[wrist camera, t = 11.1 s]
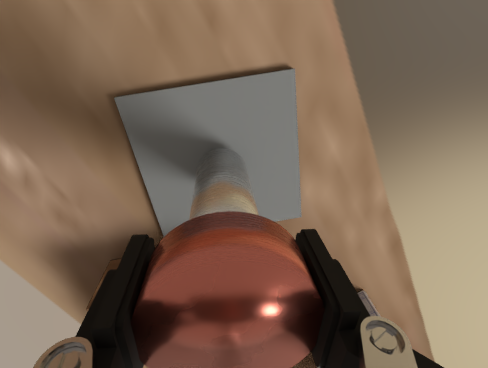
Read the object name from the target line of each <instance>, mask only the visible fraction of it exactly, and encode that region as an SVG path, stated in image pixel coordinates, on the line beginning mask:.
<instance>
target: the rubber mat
mask: <svg viewBox="0 0 488 368" xmlns="http://www.w3.org/2000/svg"><path fill="white" fill-rule="evenodd" d="M114 99H115V102H116V105H117V108H118V110H119V113H120V116H121V119H122V122H123V124H124V127H125V130H126V133H127V135H128V138H129V141H130V144H131V147H132V149H133V152H134V155H135V158H136V160H137V163H138V166H139V169H140V172H141V174H142V177H143V180H144V183H145V185H146V188H147V191H148V194H149V197H150V199H151V202H152V205H153V208H154V211H155V213H156V216H157V219H158V222H159V224H160V227H161V230H162V233H163V236H164V237H165V236H166V235H167V234H168V233H169V232H170V231H172V230H173V229H174V228H176V227H177V226H179V225H181V224H182V223H184V222H186V221H188V220H189V218H190V211H191V205H192V198H193V192H194V185H195V179H196V172H197V166H198V163H199V161H200V159H201V158H202V157H203V155H205V154H206V153H207V152H209V151H211V150H214V149H218V148H226V149H230V150H232V151H235V152H236V153H238V154H239V155H240V156H241V157H242V159H243V160H244V162H245V165H246V169H247V173H248V176H249V180H250V184H251V188H252V191H253V195H254V199H255V202H256V206H257V210H258V214H259V216H262V217H265V218H267V219H270V220H272V221H274V222H275V221H281V220H287V219H292V218H298V217H301V197H300V174H299V151H298V128H297V105H296V82H295V69H293V68H292V69H286V70H280V71H273V72H267V73H261V74H255V75H249V76H242V77H236V78H230V79H224V80H217V81H211V82H205V83H199V84H192V85H186V86H180V87H174V88H167V89H161V90H155V91H149V92H143V93H136V94H130V95H124V96H118V97H115V98H114Z"/></svg>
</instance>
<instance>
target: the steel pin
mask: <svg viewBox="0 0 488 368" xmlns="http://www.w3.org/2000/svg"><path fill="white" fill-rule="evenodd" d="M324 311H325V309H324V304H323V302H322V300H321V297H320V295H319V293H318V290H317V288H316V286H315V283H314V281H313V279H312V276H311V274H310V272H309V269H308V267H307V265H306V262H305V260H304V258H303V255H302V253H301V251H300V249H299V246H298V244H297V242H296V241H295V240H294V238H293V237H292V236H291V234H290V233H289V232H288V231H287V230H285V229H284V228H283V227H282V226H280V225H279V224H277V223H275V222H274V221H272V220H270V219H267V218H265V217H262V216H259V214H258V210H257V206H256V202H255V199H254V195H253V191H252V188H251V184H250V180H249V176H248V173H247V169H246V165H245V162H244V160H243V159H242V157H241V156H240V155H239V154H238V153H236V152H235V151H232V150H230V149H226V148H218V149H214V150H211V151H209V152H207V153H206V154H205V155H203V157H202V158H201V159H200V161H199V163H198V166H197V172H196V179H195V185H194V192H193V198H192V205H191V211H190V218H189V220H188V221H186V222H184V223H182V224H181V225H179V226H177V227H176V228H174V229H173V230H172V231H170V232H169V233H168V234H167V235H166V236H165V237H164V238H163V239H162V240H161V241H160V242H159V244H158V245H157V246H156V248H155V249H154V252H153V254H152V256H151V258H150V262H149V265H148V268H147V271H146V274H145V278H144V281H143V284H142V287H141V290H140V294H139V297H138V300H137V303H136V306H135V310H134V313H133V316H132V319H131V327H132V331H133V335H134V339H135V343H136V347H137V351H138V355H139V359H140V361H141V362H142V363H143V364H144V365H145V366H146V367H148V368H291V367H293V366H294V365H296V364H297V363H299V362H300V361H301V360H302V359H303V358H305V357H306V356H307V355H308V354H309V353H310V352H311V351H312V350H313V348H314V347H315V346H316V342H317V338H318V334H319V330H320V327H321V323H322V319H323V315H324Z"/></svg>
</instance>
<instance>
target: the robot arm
mask: <svg viewBox="0 0 488 368" xmlns="http://www.w3.org/2000/svg"><path fill="white" fill-rule="evenodd" d="M296 242H297V244H298V246H299V249H300V251H301V253H302V255H303V258H304V260H305V262H306V265H307V267H308V269H309V272H310V274H311V276H312V279H313V281H314V283H315V286H316V288H317V290H318V293H319V295H320V297H321V300H322V302H323V304H324V309H325V311H324V315H323V319H322V323H321V327H320V330H319V334H318V338H317V342H316V346H315V347H314V348H313V350H312V351H311V353H312V356H313V359H314V362H315V364H316V366H317V367H321V368H444V367H442V366H440V365H439V364H437V363H435V362H434V361H432V360H430V359H428V358H427V357H425V356H423V355H422V354H420V353H418V352H416V351H415V350H413V349H412V347H411V344H410V342H409V340H408V337H407V336H406V334H405V333H404V332H403V330H402V329H401V328H400V327H398V326H397V325H396V324H395V323H393V322H392V321H390V320H388V319H386V318H383V317H379V316H370V314H369V312H368V310H367V309H366V307H365V305H364V304H363V302H362V300H361V299H360V297H359V295H358V293H357V292H356V290H355V288H354V287H353V285H352V283H351V282H350V280H349V278H348V276H347V275H346V273H345V271H344V270H343V268H342V266H341V265H340V263H339V262H338V261H337V260H336V259H332V258H331V256H330V254H329V252H328V251H327V249H326V247H325V245H324V243H323V242H322V240H321V238H320V236H319V235H318V233H317V231H316V230H315V229H302V230H301V232H300V233H297V235H296ZM154 249H155V246H154V240H153V238H149V236H148V235H133V236H132V237H131V239H130V241H129V244H128V246H127V248H126V250H125V252H124V255H123V257H122V259H121V261H120V263H119V266H118V268H117V269H110V270H109V271H108V272H107V274H106V275H105V277H104V279H103V282H102V284H101V286H100V288H99V290H98V292H97V294H96V296H95V298H94V300H93V302H92V304H91V306H90V308H89V310H88V312H87V314H86V316H85V318H84V320H83V322H82V324H81V326H80V329H79V331H78V333H77V335H76V337H71V338H67V339H64V340H62V341H60V342H58V343H56V344H55V345H53V346H52V347H50V348H49V349H48V350H47V351H46V352H45V353H44V354H42V356H41V357H40V358H39V359H38V361H37V362H36V364H35V365H34V367H33V368H143V366H144V364H143V363H142V362H141V361H140V359H139V355H138V351H137V347H136V343H135V339H134V335H133V331H132V327H131V319H132V316H133V313H134V310H135V306H136V303H137V300H138V297H139V294H140V290H141V287H142V284H143V281H144V278H145V274H146V271H147V268H148V265H149V262H150V258H151V256H152V254H153V252H154Z"/></svg>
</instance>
